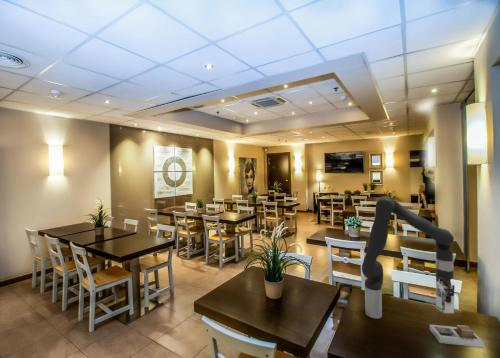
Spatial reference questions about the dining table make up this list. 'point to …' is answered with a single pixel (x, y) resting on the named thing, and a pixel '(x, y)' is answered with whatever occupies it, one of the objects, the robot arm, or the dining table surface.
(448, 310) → the syrup box
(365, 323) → the dining table surface
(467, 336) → the walnut block
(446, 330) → the white compartment tray
